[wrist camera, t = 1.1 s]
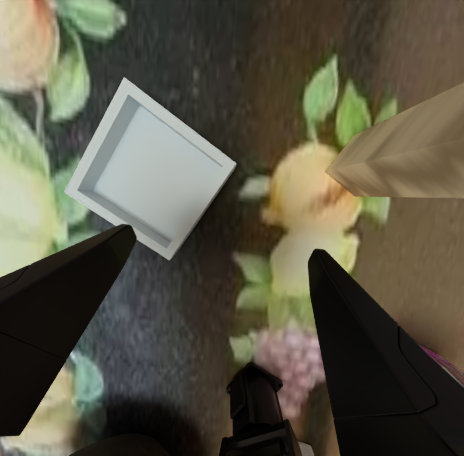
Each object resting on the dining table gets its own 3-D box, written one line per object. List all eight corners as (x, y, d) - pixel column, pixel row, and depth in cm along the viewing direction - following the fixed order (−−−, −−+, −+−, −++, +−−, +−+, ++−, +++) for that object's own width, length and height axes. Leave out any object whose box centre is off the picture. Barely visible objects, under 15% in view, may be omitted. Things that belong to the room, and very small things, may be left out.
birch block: (384, 161, 20) (642, 107, 8) (354, 196, 21) (544, 199, 8) (353, 135, 20) (579, 26, 7) (325, 171, 20) (479, 134, 8)
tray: (235, 167, 20) (236, 163, 17) (177, 251, 22) (169, 260, 19) (140, 95, 19) (124, 77, 16) (87, 192, 21) (64, 192, 18)
